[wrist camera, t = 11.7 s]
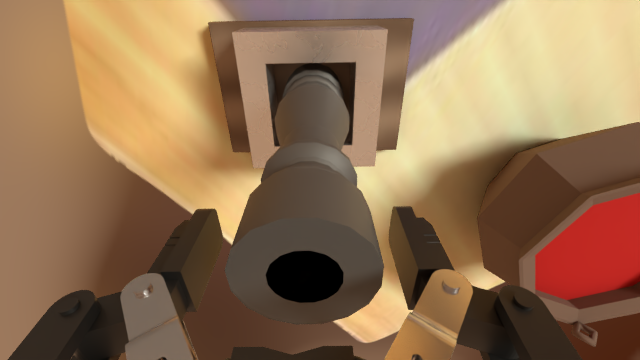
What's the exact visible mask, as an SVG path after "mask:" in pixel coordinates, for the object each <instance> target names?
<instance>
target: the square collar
mask: <svg viewBox="0 0 640 360" xmlns="http://www.w3.org/2000/svg"><path fill="white" fill-rule="evenodd" d="M387 33H388V29H385V28H383V27H380V26H378V25H372V26H317V27H261V28H243V29H240V30H237V31H234V32H232V36H233V42H234V49H235V55H236V61H237V68H238V74H239V80H240V87H241V93H242V99H243V106H244V112H245V118H246V125H247V131H248V137H249V144H250V150H251V156H252V163H253V168H265V165H266V162H267V160H268V159H269V158H270V157H271V156H272V155H273V154H274V153H275V152H276V151H277V150H278V149H279V148H280V144H279V140H278V137H277V133H276V126H275V116H276V112H277V109H278V103H277V93H276V82H275V71H274V64H276V63H333V62H350V88H349V132H348V134H347V137H346V139H345V142H344V145H343V147H342V150H341V151H342V152H343V153H344V154H345V155H346V156H348V157H349V159H350V161H351V163H352V165H353V167H357V166H375V158H376V147H377V137H378V127H379V116H380V106H381V95H382V85H383V75H384V64H385V54H386V44H387Z"/></svg>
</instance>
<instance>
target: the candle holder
mask: <svg viewBox="0 0 640 360" xmlns="http://www.w3.org/2000/svg"><path fill="white" fill-rule="evenodd" d="M275 126H276V133H277V137H278V140H279V144H280V148H279V149H278V150H277V151H276V152H275V153H274V154H273V155H272V156H271V157H270V158H269V159H268V160H267V162H266V165H265V168H264V171H263V174H262V178H261V184H260V185H259V186H258V187H257V188H256V189H255V190H254V191H253V192H252V193H251V194H250V196H249V199H248V202H247V205H246V207H245V210H244V213H243V216H242V219H241V222H240V224H239V227H238V230H237V233H236V236H235V239H234V241H233V244H232V247H231V250H230V254H229V257H228V261H227V264H226V268H225V273H226V276H227V279H228V282H229V286H230V289H231V291H232V292H233V293H234V294H235V295H236V296H237V298H238V299H239V300H240V301H241V302H242V303H243V304H244V305H245V306H246V307H247V308H249V309H251V310H253V311H255V312H257V313H259V314H261V315H263V316H265V317H267V318H269V319H273V320H277V321H282V322H287V323H292V324H324V323H327V322H331V321H334V320H338V319H342V318H345V317H348V316H350V315H352V314H353V313H355V312H357V311H358V310H360V309H361V308H363V307H365V306H366V305H368V304H369V303H370V301H371V300H372V299H373V297H374V296H375V295H376V293H377V292H378V290H379V289H380V288H381V286H382V277H383V268H384V264H383V260H382V256H381V252H380V248H379V244H378V240H377V236H376V232H375V228H374V224H373V220H372V216H371V212H370V209H369V207H368V205H367V203H366V200H365V198H364V196H363V194H362V192H361V191H360V190H359V189H358V188H357V174H356V172H355V170H354V167H353V165H352V163H351V161H350V159H349V157H348V156H346V155H345V154H344V153H343V152H342V151H341V150H342V147H343V145H344V142H345V139H346V137H347V134H348V132H349V113H348V111H347V108H346V106H345V103H344V93H343V89H342V86H341V83H340V81H339V79H338V76H337V75H336V74H335V73H334V72H333V71H332V70H331V69H330V68H329V67H327V66H325V65H322V64H319V63H307V64H305V65H302V66H300V67H298V68H296V70H295V71H294V72H293V73H292V74H291V75H290V77H289V78H288V81H287V84H286V87H285V90H284V93H283V99H282V101H281V102H280V103H279V106H278V109H277V112H276V116H275Z"/></svg>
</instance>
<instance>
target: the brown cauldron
mask: <svg viewBox="0 0 640 360" xmlns="http://www.w3.org/2000/svg"><path fill="white" fill-rule="evenodd" d="M477 219H478V227H479V234H480V241H481V249H482V256H483V264H484V268H485V269H487V270H488V271H490V272H492V273H493V274H495V275H496V276H498V277H499V278H501V279H502V280H504V281H506V282H507V283H509V284H510V285H514V286H520V287H523V288H525V289H527V290H529V291H531V292H533V293H534V294H536V295H537V296H538V297H539V298H540V299H541V300H542V301H543V302H544V304H545V305H546V307H547V308H548V310H549V311H550V312H551V314H552V315H553V317H554V318H555V320H559V321H562V322H565V323H569V324H571V325H573V328H572V332H571V333H572V335H574V336H575V337H577V338H579V339H581V340H582V341H584V342H586V343H588V344H589V345H592V346H596V341H597V335H598V333H597V332H596V331H595V330H593V329H592V328H590V327H588V326H586V325H584V324H585V323H590V322H595V321H600V320H605V319H610V318H615V317H620V316H625V315H630V314H635V313H640V122H636V123H632V124H627V125H623V126H618V127H613V128H609V129H604V130H600V131H595V132H591V133H586V134H582V135H577V136H572V137H568V138H563V139H560V140H557V141H554V142H550V143H547V144H544V145H541V146H538V147H534V148H531V149H528V150H525V151H522V152H518V153H516V154H515V155H514V157H513V158H512V159H511V160H510V161H509V162H508V163H507V164H506V166H505V167H504V168H503V169H502V170H501V171H500V172H499V174H498V175H497V176H496V177H495V178H494V179H493V180H492V182H491V183H490V184H489V185H488V187H487V190H486V193H485V196H484V199H483V202H482V205H481V208H480V211H479V214H478V217H477ZM580 329H581V330H583V331H585V332H586V333H588V334H589V337H588V336H586V335H584V334H582V333H581V332H580Z"/></svg>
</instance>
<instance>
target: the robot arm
mask: <svg viewBox="0 0 640 360" xmlns="http://www.w3.org/2000/svg"><path fill="white" fill-rule="evenodd" d="M222 243H223V235H222V230H221V227H220V223H219V219H218V215H217V212H216V210H215V209H197V210H196V211H195V213H194V214H193V216H192V218H191V219H190V220H185V221H184V222H182V223H181V224H180V225H179V226H178V227H176V228H175V230H174V232H173V233H172V235H171V236H170V239H168V241H167V243H166V244H165V247H163V249H162V251H161V252H160V254H159V255H158V257H157V258H156V260H155V262H154V263H153V265H152V267H151V268H150V270H149V271H148V273H147V274H144V275H142V276H139V277H137V278H135V279H134V280H132V281H131V282H129V283H128V284H127V286H125V288H124V289H123V291H122V292H118V293H115V294H111V295H107V296H104V297H100V298H96V296H95V295H94V294H93V292H91V291H89V290H80V291H76V292H73V293H70V294H68V295H66V296H64V297H62V298H61V299H59V300H58V301H57V302H55V303H54V304H53V305H52V306H51V307H50V308H49V309H48V310H47V312H46V313H45V314H44V315H43V317H42V318H41V319H40V320H39V322H38V323H37V324H36V325H35V327H34V328H33V329H32V330H31V331H30V333H29V334H28V335H27V336H26V338H25V339H24V340H23V341H22V343H21V344H20V345H19V346H18V348H17V349H16V350H15V351H14V352H13V354H12V355H11V356H10V357H9V359H8V360H70V359H71V360H118V359H119V357H120V355H121V353H124V352H126V357H127V360H198V358H197V356H196V353H195V351H194V348H193V345H192V343H191V340H190V338H189V335H188V332H187V330H186V327H185V325H184V322H183V318H184V315H185V313H186V312H196V311H197V309H198V307H199V304H200V302H201V299H202V297H203V294H204V291H205V289H206V286H207V284H208V281H209V279H210V276H211V274H212V271H213V268H214V265H215V263H216V261H217V258H218V256H219V253H220V250H221V248H222ZM389 244H390V248H391V251H392V255H393V258H394V262H395V265H396V268H397V272H398V275H399V279H400V282H401V286H402V289H403V293H404V296H405V299H406V303H407V306H408V310H413V312H412V313H411V312H410V313H409V314H408V316H407V318H406V319H405V321H404V323H403V325H402V327H401V329H400V331H399V333H398V334H397V336H396V338H395V340H394V342H393V344H392V346H391V348H390V350H389V352H388V353H387V355H386V357H385V359H384V360H450V359H451V356H452V354H453V351H454V348H455V345H456V343H457V344H461V345H464V346H467V347H470V348H474V349H477V350H479V351H480V353H481V356H482V358H483V360H582V358H581V357H580V355H579V354H578V353H577V351H576V349H575V348H574V347H573V345H572V344H571V342H570V341H569V339H568V338H567V336H566V335H565V333H564V332H563V330H562V329H561V327H560V326H559V324H558V323H557V322H556V320H555V318H554V317H553V315H552V314H551V312H550V311H549V310H548V308H547V307H546V305H545V304H544V302H543V301H542V300H541V299H540V298H539V297H538V296H537V295H536V294H534V293H533V292H531V291H529V290H527V289H525V288H523V287H520V286H514V285H508V286H505V287H503V288H502V289H501V290H500V291H499V293H496V292H492V291H488V290H484V289H480V288H477V287H474V286H472V285H471V284H470V282H469V281H468V280H467V279H466V278H465V277H464V276H463V275H461V274H460V273H458V272H456V271H455V270H454V268H453V266H452V264H451V262H450V260H449V259H448V257H447V255H446V253H445V251H444V249H443V247H442V245H441V243H440V241H439V239H438V237H437V236H436V233H435V231H434V229H433V227H432V225H431V224H430V223H429V222H428V221H426V220H425V219H424V218H416V216H415V214H414V212H413V209H412V208H411V207H410V206H406V207H393V210H392V216H391V222H390V229H389ZM72 356H73V357H72ZM71 357H72V358H71ZM225 360H365V359H363V358H361V357H358V356H354V355H353V347H352V346H322V347H319V348H316V349H312V350H308V351H305V352H301V353H298V354H294V355H291V354H287V353H283V352H279V351H276V350H272V349H268V348H265V347H234V348H233V352H232V356H231V358H228V359H225Z"/></svg>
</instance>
